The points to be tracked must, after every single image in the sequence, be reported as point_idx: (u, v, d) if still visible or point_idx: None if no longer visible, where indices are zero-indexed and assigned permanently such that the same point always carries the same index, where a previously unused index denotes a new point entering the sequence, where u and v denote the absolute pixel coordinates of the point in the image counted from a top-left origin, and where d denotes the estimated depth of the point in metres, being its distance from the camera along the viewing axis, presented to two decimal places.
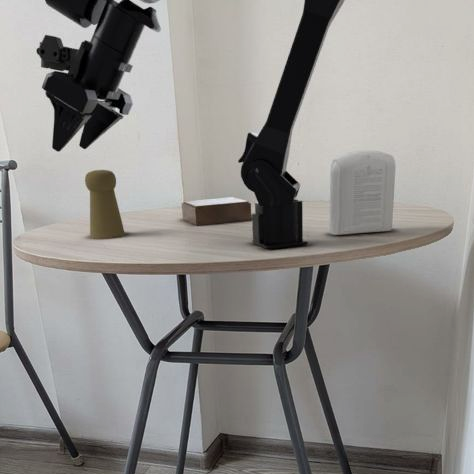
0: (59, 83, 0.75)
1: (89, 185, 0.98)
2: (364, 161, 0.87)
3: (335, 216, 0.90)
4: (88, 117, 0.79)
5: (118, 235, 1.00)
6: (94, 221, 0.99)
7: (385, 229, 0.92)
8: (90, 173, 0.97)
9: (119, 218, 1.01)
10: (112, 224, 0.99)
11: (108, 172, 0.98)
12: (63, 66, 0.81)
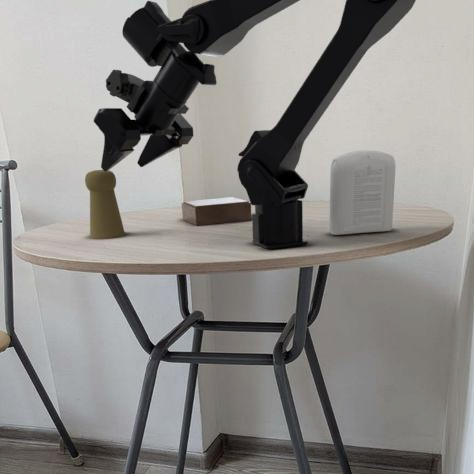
0: (106, 120, 0.83)
1: (89, 185, 0.98)
2: (364, 161, 0.87)
3: (335, 216, 0.90)
4: (130, 151, 0.87)
5: (118, 235, 1.00)
6: (94, 221, 0.99)
7: (385, 229, 0.92)
8: (90, 173, 0.97)
9: (119, 218, 1.01)
10: (112, 224, 0.99)
11: (108, 172, 0.98)
12: (125, 98, 0.89)
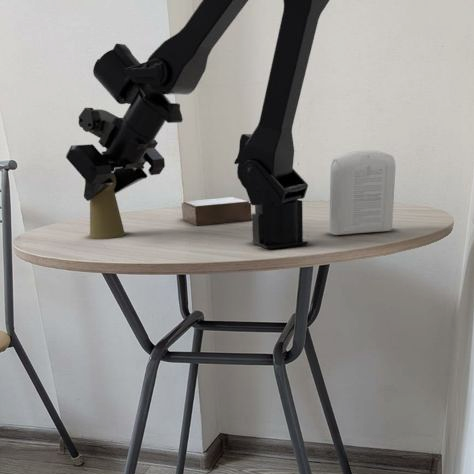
0: (77, 157, 0.88)
1: None
2: (364, 161, 0.87)
3: (335, 216, 0.90)
4: (110, 183, 0.93)
5: (118, 235, 1.00)
6: (94, 221, 0.99)
7: (385, 229, 0.92)
8: None
9: (119, 218, 1.01)
10: (112, 224, 0.99)
11: None
12: (97, 134, 0.93)
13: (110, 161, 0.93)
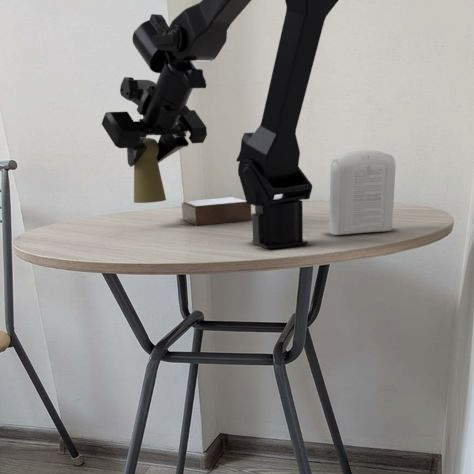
0: (109, 123, 0.95)
1: None
2: (364, 161, 0.87)
3: (335, 216, 0.90)
4: (143, 149, 0.99)
5: (156, 200, 1.06)
6: (135, 186, 1.06)
7: (385, 229, 0.92)
8: None
9: (159, 184, 1.06)
10: (150, 190, 1.05)
11: (149, 140, 1.03)
12: (137, 102, 0.99)
13: (145, 128, 0.98)
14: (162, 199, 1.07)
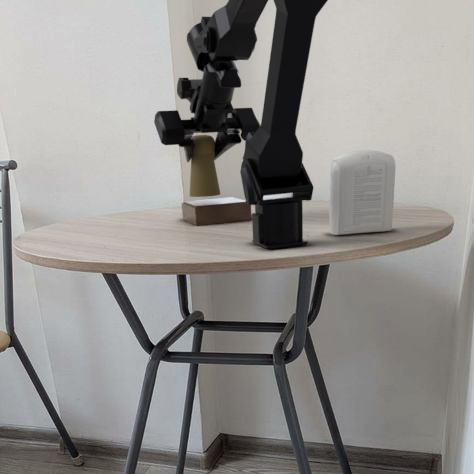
0: (157, 121, 1.02)
1: None
2: (364, 161, 0.87)
3: (335, 216, 0.90)
4: (191, 146, 1.04)
5: (207, 195, 1.11)
6: (190, 181, 1.12)
7: (385, 229, 0.92)
8: None
9: (211, 179, 1.10)
10: (202, 184, 1.10)
11: (204, 137, 1.08)
12: (191, 101, 1.04)
13: (193, 126, 1.03)
14: (214, 194, 1.11)
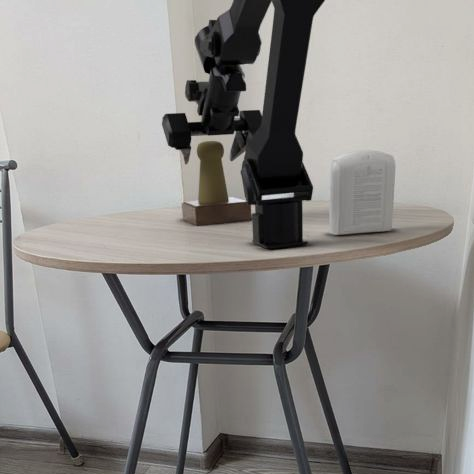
0: (164, 123, 1.03)
1: (197, 154, 1.11)
2: (364, 161, 0.87)
3: (335, 216, 0.90)
4: (187, 149, 1.04)
5: (215, 201, 1.11)
6: (199, 186, 1.13)
7: (385, 229, 0.92)
8: None
9: (220, 185, 1.11)
10: (210, 190, 1.11)
11: (212, 143, 1.09)
12: None
13: (200, 128, 1.04)
14: (222, 200, 1.12)
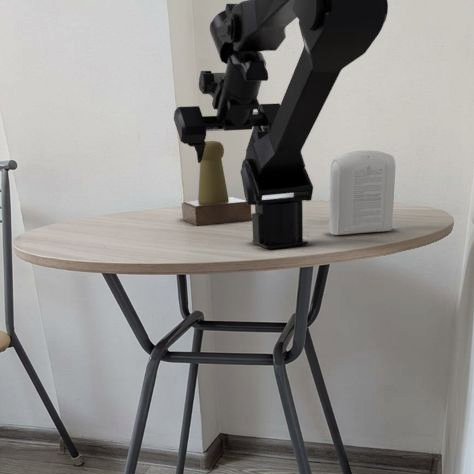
0: (177, 118, 0.94)
1: None
2: (364, 161, 0.87)
3: (335, 216, 0.90)
4: (201, 145, 0.96)
5: (215, 201, 1.11)
6: (199, 186, 1.13)
7: (385, 229, 0.92)
8: None
9: (220, 185, 1.11)
10: (210, 190, 1.11)
11: (212, 143, 1.09)
12: (213, 96, 0.96)
13: (216, 123, 0.95)
14: (222, 200, 1.12)
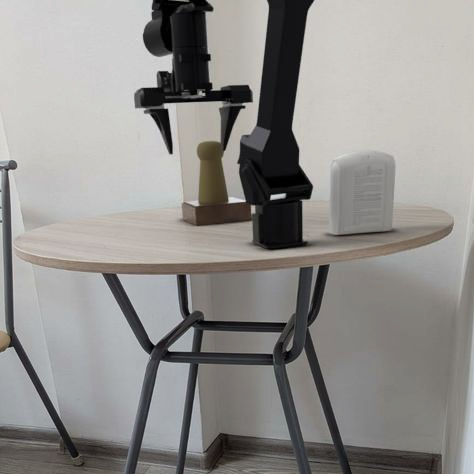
0: (135, 96, 0.93)
1: (197, 154, 1.11)
2: (364, 161, 0.87)
3: (335, 216, 0.90)
4: (163, 110, 0.91)
5: (215, 201, 1.11)
6: (199, 186, 1.13)
7: (385, 229, 0.92)
8: None
9: (220, 185, 1.11)
10: (210, 190, 1.11)
11: (212, 143, 1.09)
12: None
13: (176, 95, 0.94)
14: (222, 200, 1.12)
